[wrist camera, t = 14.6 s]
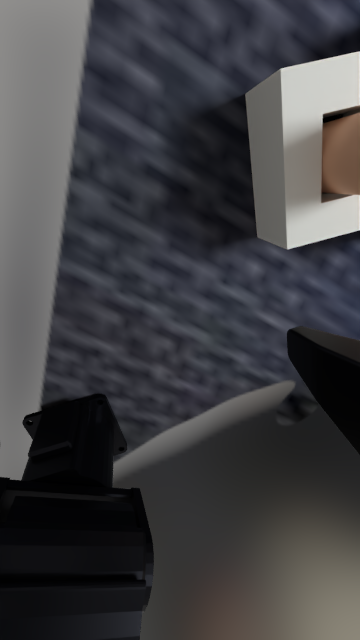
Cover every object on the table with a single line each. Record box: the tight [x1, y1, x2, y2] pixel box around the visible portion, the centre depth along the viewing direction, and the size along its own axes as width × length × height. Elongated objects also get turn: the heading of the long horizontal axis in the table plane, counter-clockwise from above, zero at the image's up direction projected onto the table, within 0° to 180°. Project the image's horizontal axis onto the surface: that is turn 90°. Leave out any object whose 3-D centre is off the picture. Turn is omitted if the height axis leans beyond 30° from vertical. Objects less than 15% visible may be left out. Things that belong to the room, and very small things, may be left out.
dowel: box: [321, 113, 360, 195], centre depth 15 cm, size 4×4×8 cm
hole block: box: [245, 51, 360, 250], centre depth 16 cm, size 8×8×4 cm
